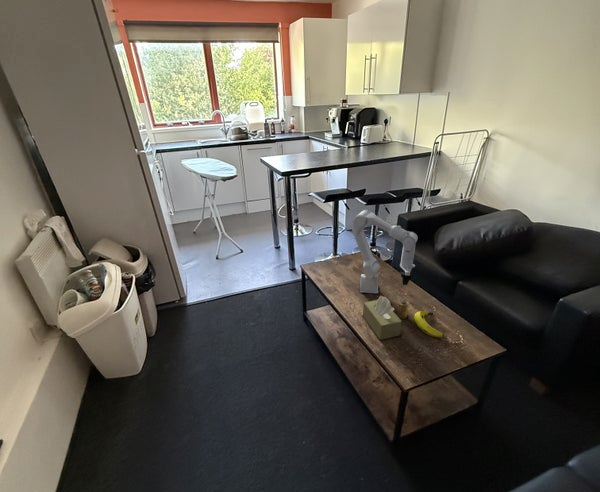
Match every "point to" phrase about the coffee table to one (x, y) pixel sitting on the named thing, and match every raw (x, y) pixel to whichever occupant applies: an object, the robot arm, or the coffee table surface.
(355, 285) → the coffee table surface
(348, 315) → the coffee table surface
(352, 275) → the coffee table surface
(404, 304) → the pepper mill
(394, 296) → the coffee table surface
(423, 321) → the banana
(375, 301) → the tissue dispenser
